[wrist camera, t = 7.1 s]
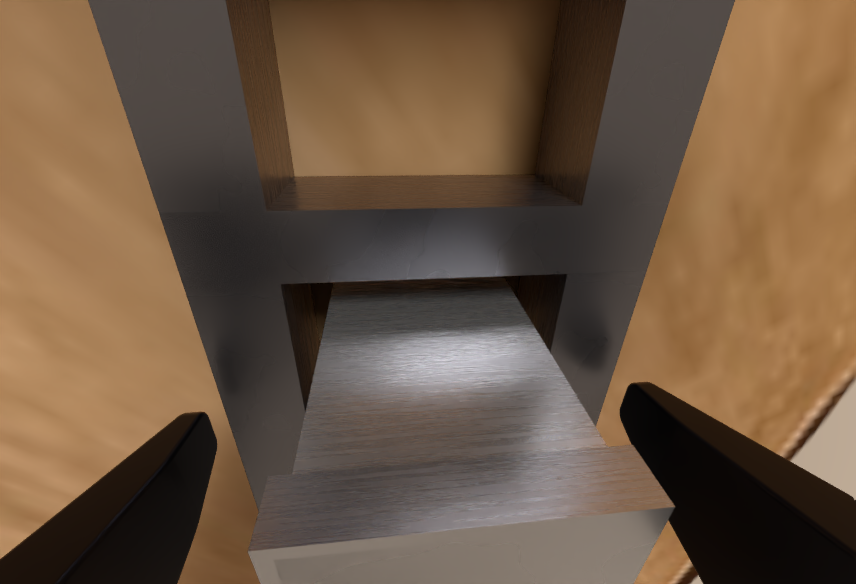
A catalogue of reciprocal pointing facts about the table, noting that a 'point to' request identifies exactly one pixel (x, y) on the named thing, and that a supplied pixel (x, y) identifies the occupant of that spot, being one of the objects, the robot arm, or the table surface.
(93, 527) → the robot arm
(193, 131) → the rack rail
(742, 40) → the table surface
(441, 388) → the grey-capped square peg
